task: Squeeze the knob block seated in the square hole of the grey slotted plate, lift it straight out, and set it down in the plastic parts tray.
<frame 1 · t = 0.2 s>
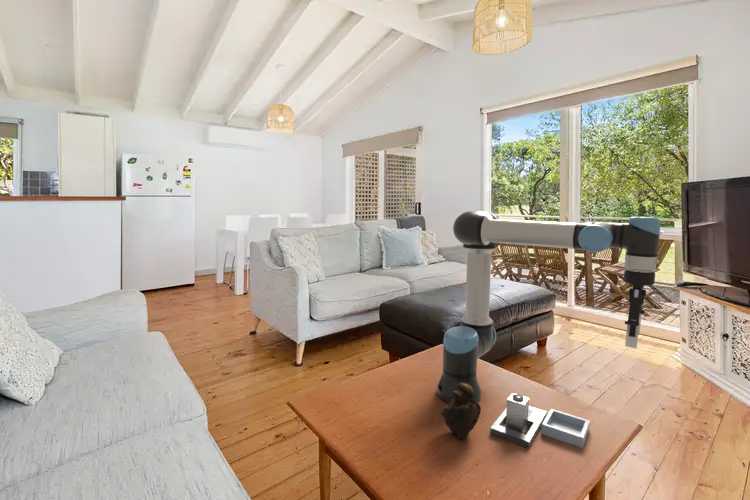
hand: (632, 340, 115), 28 cm above the table, fingers open, 13 cm apart
parts tray: (565, 432, 116), on the table
knob block: (516, 429, 117), resting in grey slotted plate
sculpture: (460, 436, 113), on the table
grey slotted plate: (519, 425, 119), on the table
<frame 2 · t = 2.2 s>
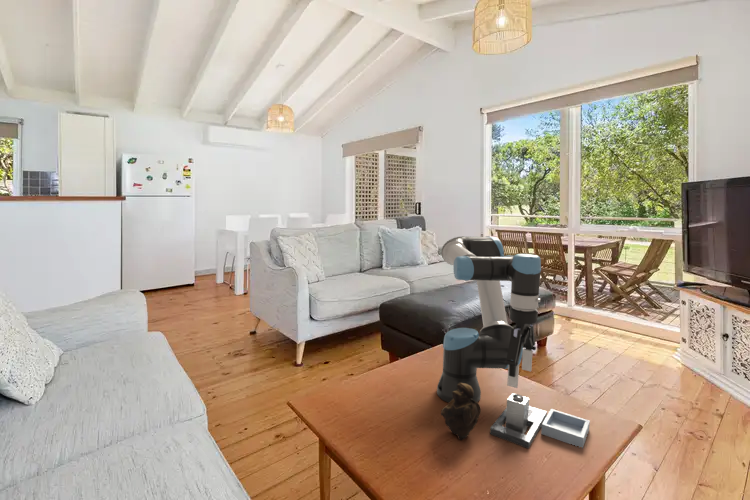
hand: (519, 377, 114), 17 cm above the table, fingers open, 13 cm apart
nothing on the table moved.
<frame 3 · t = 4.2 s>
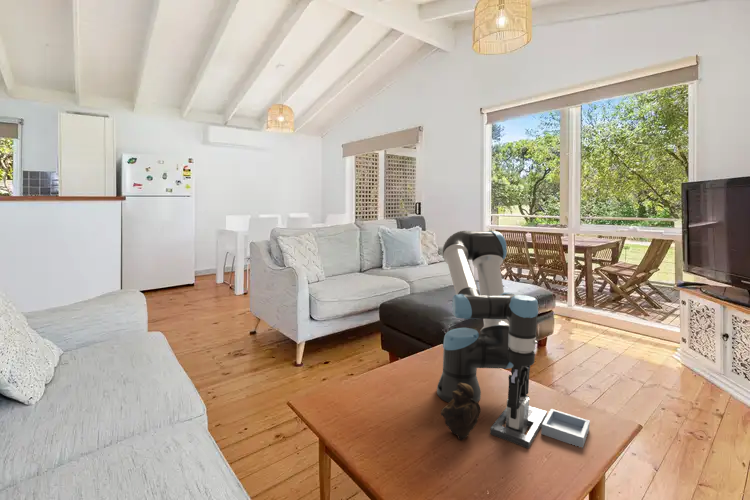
hand: (516, 422, 116), 2 cm above the table, fingers closed on knob block, 5 cm apart
knob block: (516, 429, 117), resting in grey slotted plate, touching gripper
everything else where it was.
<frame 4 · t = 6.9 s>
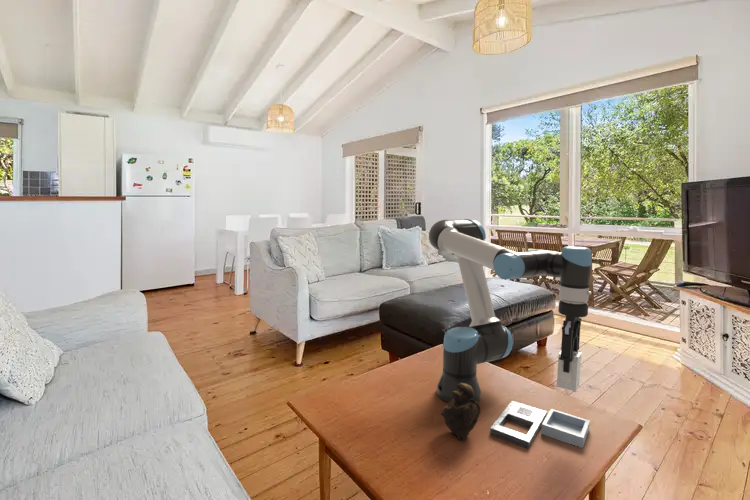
hand: (568, 378, 113), 17 cm above the table, fingers closed on knob block, 5 cm apart
knob block: (567, 385, 113), point 15 cm above the table, touching gripper
everything else where it was.
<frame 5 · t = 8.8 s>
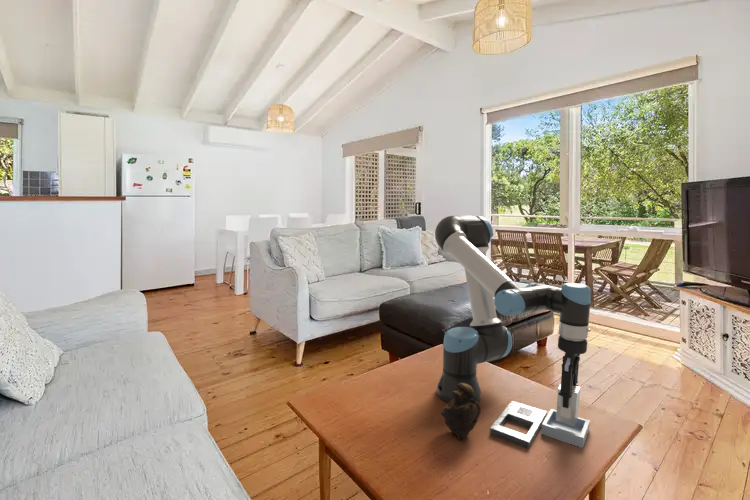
hand: (567, 412, 115), 6 cm above the table, fingers closed on knob block, 5 cm apart
knob block: (566, 419, 115), point 4 cm above the table, touching gripper
everything else where it was.
when the fingers open (4 cm above the table, at t = 10.0 s): knob block drops 1 cm, resting on parts tray.
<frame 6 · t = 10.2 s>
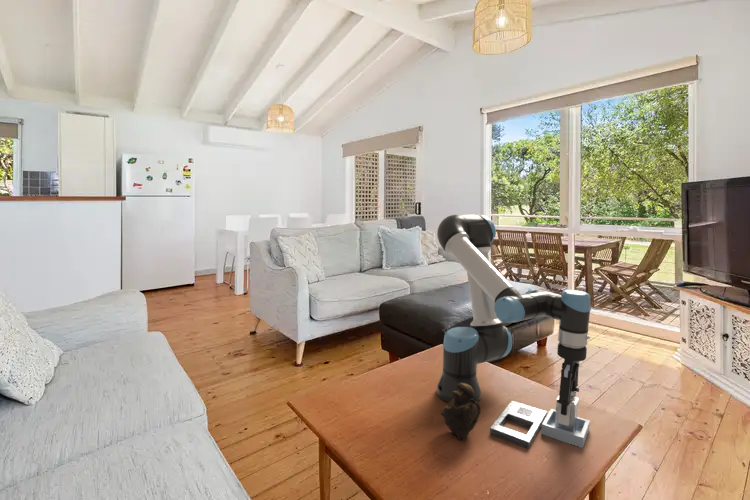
hand: (566, 417, 115), 5 cm above the table, fingers open, 8 cm apart
knob block: (565, 430, 116), point 1 cm above the table, touching parts tray
everything else where it was.
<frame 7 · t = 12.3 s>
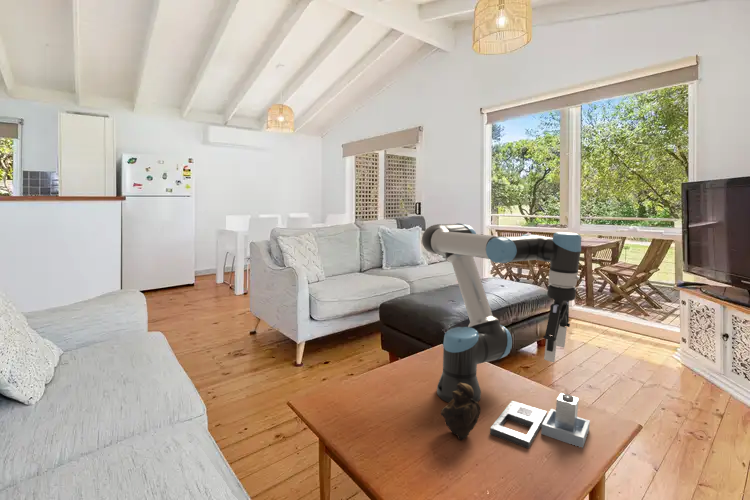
hand: (554, 353, 117), 23 cm above the table, fingers open, 13 cm apart
nothing on the table moved.
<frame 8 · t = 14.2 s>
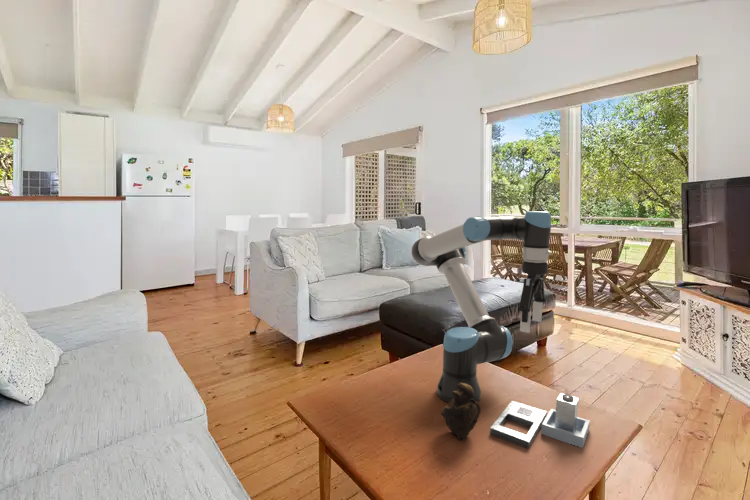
hand: (531, 326, 124), 29 cm above the table, fingers open, 13 cm apart
nothing on the table moved.
at the end: knob block inside the target area on the parts tray (0.1 cm from its centre), point 0.6 cm above the parts tray's base; knob block tilted 0°; knob block moved 14.3 cm from its start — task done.
